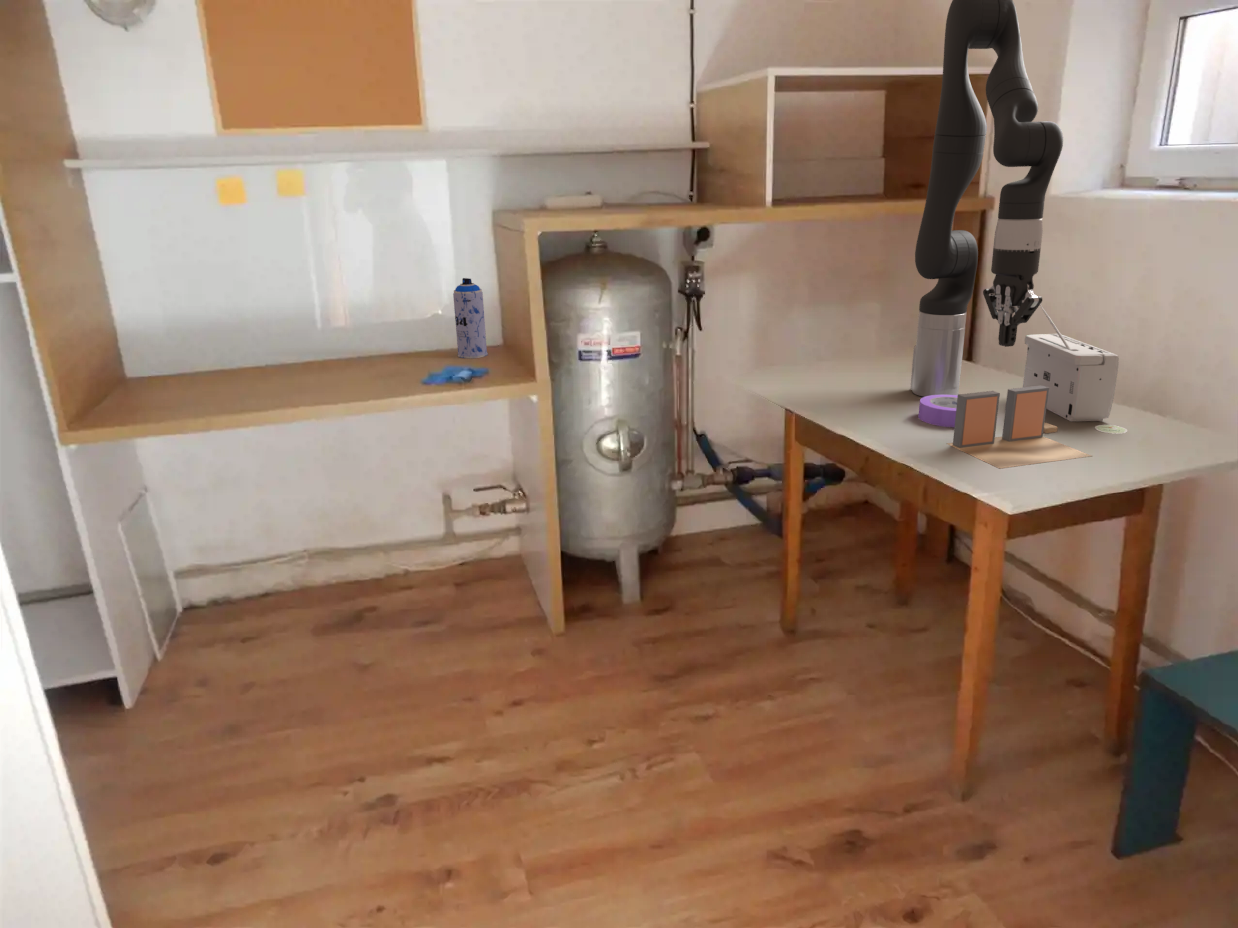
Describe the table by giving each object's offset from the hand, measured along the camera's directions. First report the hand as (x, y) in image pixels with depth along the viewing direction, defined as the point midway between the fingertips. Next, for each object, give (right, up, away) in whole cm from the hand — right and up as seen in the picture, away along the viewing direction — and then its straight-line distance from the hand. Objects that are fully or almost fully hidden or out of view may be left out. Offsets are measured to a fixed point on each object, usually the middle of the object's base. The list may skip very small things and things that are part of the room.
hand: (1006, 345), depth 162 cm
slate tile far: (+2, -16, -1) cm, 17 cm away
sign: (+18, -17, -2) cm, 25 cm away
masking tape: (-6, -13, +12) cm, 18 cm away
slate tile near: (-7, -18, -4) cm, 19 cm away
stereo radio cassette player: (+18, -11, +17) cm, 27 cm away
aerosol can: (-107, +7, +78) cm, 133 cm away
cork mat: (-1, -19, -7) cm, 20 cm away
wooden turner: (+8, -15, +3) cm, 18 cm away
